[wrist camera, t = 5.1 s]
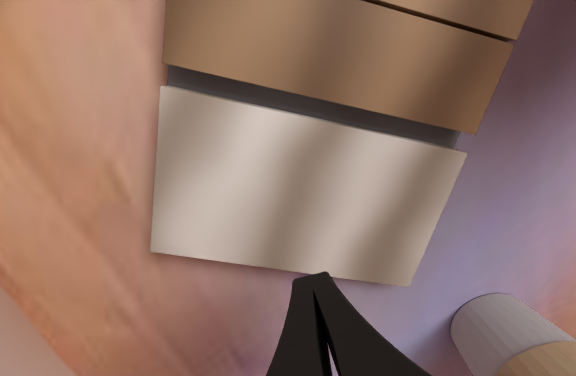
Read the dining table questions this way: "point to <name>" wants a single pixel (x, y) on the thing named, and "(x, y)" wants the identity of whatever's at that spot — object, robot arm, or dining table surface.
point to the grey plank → (294, 190)
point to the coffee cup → (511, 339)
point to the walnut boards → (356, 50)
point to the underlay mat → (308, 106)
